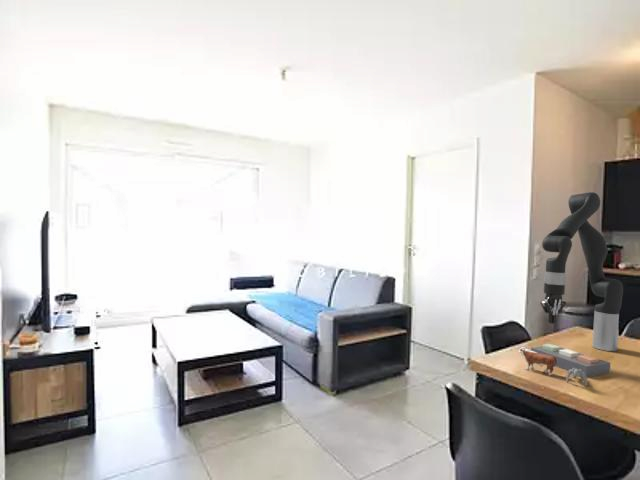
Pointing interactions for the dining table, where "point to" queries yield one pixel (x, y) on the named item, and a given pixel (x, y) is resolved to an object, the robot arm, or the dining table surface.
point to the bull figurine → (538, 359)
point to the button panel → (576, 363)
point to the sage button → (551, 347)
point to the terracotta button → (587, 359)
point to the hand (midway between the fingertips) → (552, 323)
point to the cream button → (568, 353)
